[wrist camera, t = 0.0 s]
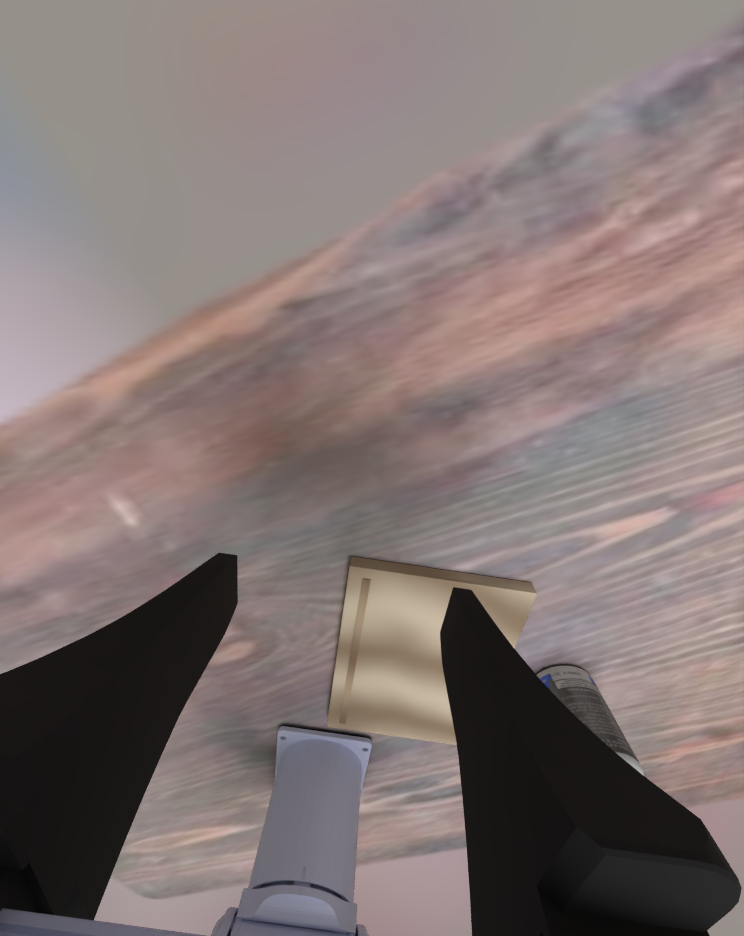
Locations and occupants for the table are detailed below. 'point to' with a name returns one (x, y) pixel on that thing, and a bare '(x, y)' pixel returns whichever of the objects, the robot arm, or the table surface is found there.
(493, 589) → the beech board
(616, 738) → the pill bottle
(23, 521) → the table surface
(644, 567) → the table surface
